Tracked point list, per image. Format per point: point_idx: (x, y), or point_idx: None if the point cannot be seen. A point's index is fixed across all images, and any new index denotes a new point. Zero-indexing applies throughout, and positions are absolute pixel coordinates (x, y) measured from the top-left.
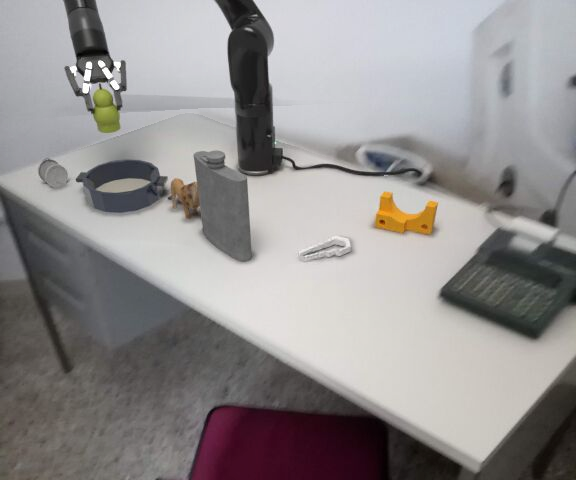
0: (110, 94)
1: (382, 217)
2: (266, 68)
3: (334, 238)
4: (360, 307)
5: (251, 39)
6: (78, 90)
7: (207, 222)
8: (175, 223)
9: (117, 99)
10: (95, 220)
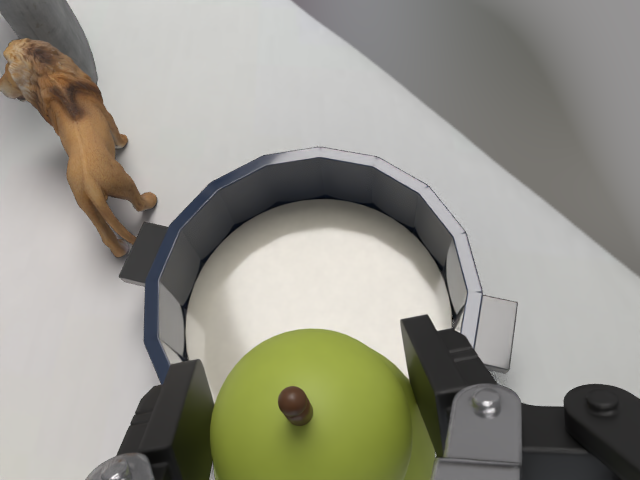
0: (215, 405)
1: None
2: None
3: None
4: None
5: None
6: (570, 392)
7: (63, 5)
8: (162, 130)
9: (170, 392)
10: (408, 166)
